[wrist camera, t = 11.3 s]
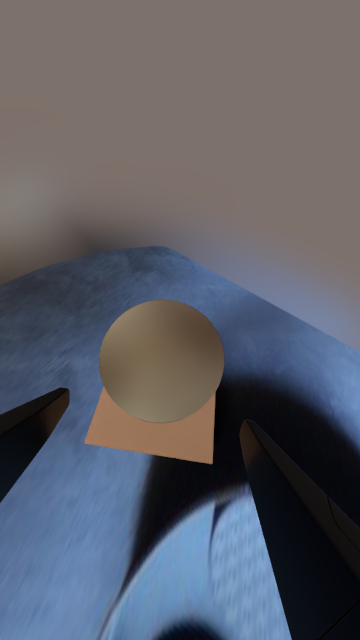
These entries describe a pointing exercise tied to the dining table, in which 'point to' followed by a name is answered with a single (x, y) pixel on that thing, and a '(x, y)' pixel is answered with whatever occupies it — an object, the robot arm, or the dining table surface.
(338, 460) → the dining table surface
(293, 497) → the robot arm
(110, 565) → the dining table surface
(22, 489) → the dining table surface
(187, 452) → the terracotta plinth
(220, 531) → the dining table surface
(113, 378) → the birch column
